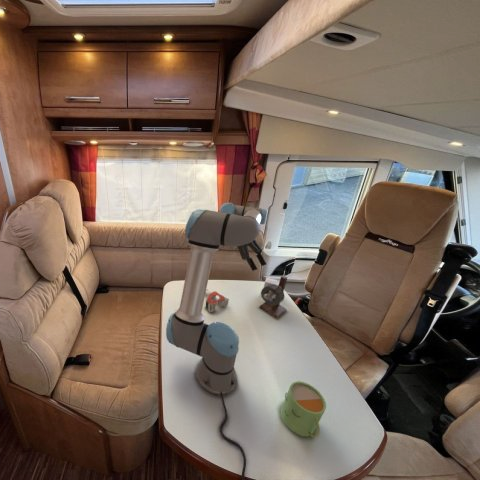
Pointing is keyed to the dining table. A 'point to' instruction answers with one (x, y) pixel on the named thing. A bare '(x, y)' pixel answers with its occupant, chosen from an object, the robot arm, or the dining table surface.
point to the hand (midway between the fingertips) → (259, 267)
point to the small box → (271, 281)
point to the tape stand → (277, 309)
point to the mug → (303, 409)
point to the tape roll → (276, 291)
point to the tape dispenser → (211, 296)
